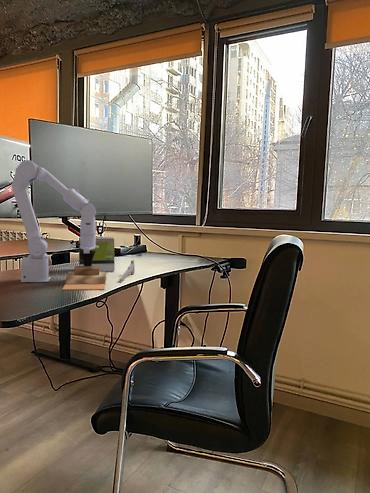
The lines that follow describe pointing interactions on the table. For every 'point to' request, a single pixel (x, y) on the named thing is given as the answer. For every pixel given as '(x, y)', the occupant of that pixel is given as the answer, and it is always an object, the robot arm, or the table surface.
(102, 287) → the terracotta mat
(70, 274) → the birch deck
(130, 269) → the caliper
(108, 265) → the tea box
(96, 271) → the walnut tile
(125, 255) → the table surface
